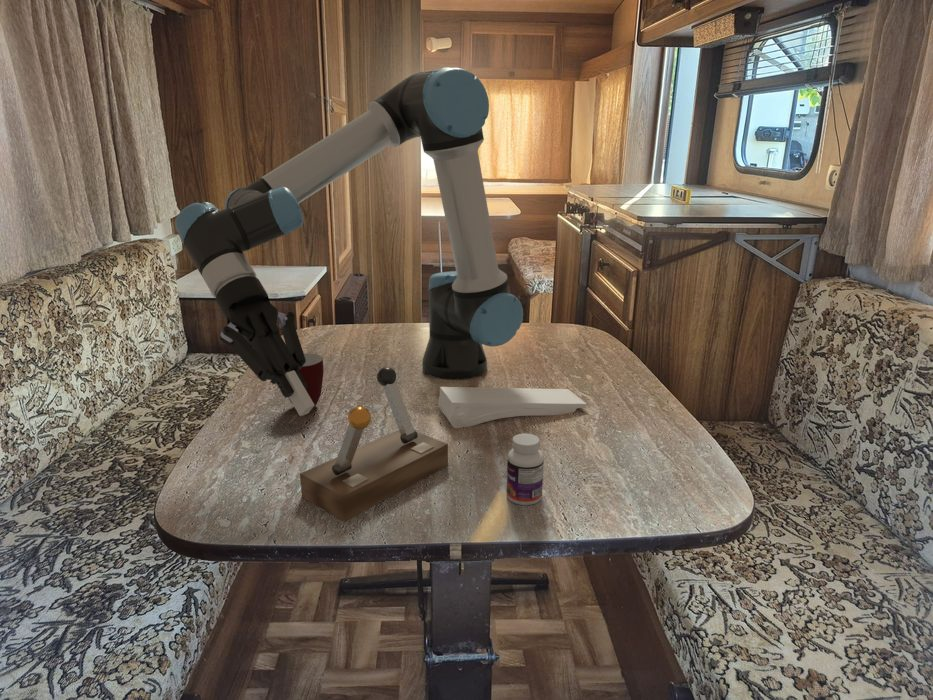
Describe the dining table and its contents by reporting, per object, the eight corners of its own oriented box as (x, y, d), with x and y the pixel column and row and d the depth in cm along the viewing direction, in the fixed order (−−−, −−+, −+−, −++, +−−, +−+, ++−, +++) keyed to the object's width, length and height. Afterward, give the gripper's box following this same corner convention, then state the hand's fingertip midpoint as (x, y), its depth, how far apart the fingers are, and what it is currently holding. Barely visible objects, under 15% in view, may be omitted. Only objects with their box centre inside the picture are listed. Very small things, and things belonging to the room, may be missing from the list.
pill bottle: (504, 488, 103) (505, 431, 100) (538, 487, 104) (540, 430, 101) (509, 507, 98) (510, 447, 95) (545, 505, 99) (547, 446, 96)
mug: (319, 420, 127) (315, 371, 124) (277, 420, 127) (272, 371, 124) (329, 399, 137) (326, 353, 134) (290, 399, 137) (286, 353, 134)
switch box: (301, 497, 101) (299, 472, 99) (405, 447, 116) (405, 426, 115) (344, 521, 94) (342, 495, 93) (448, 465, 110) (447, 442, 109)
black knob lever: (397, 446, 109) (370, 372, 109) (411, 439, 111) (384, 367, 111) (409, 442, 107) (381, 367, 107) (423, 436, 109) (396, 362, 109)
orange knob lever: (325, 467, 99) (346, 405, 91) (342, 459, 101) (364, 399, 94) (338, 482, 97) (360, 420, 90) (355, 474, 100) (378, 413, 92)
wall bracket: (562, 422, 141) (435, 422, 132) (564, 388, 141) (437, 385, 131) (586, 430, 132) (451, 431, 122) (588, 393, 131) (453, 391, 122)
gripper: (263, 294, 114) (331, 409, 109) (191, 309, 104) (261, 435, 99) (279, 268, 109) (350, 387, 104) (205, 280, 99) (279, 412, 94)
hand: (307, 410), depth 101 cm, fingers closed
